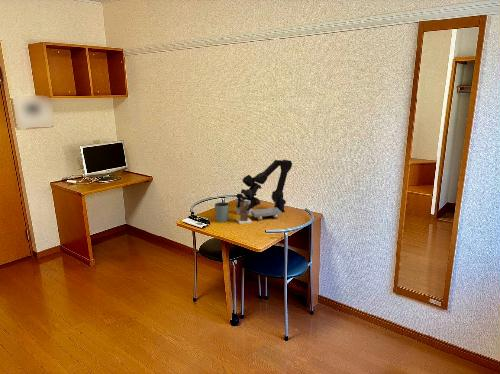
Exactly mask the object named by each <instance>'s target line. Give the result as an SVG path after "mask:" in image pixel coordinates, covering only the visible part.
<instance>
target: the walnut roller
mask: <svg viewBox="0 0 500 374" xmlns="http://www.w3.org/2000/svg"><path fill="white" fill-rule="evenodd" d="M239 215H240V218H241V221H247V220H248V211H247V202H246V201H242V202H240V214H239Z"/></svg>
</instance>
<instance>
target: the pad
mask: <svg viewBox="0 0 500 374" xmlns="http://www.w3.org/2000/svg"><path fill="white" fill-rule="evenodd" d="M235 219H236V221H237V223H238V224H239V225H244V224H251V223H253V221H252V219H251V218H250V217H248V220H247V221H241V217H240V218H235Z"/></svg>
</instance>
